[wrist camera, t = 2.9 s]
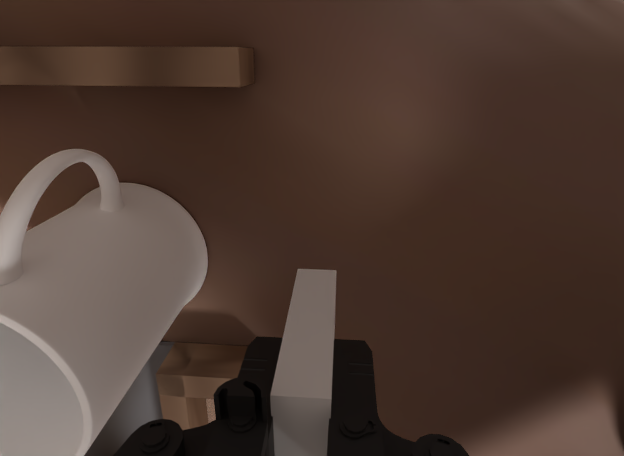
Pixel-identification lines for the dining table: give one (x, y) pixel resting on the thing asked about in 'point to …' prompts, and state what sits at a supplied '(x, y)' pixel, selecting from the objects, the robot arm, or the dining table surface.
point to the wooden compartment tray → (168, 355)
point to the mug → (85, 302)
